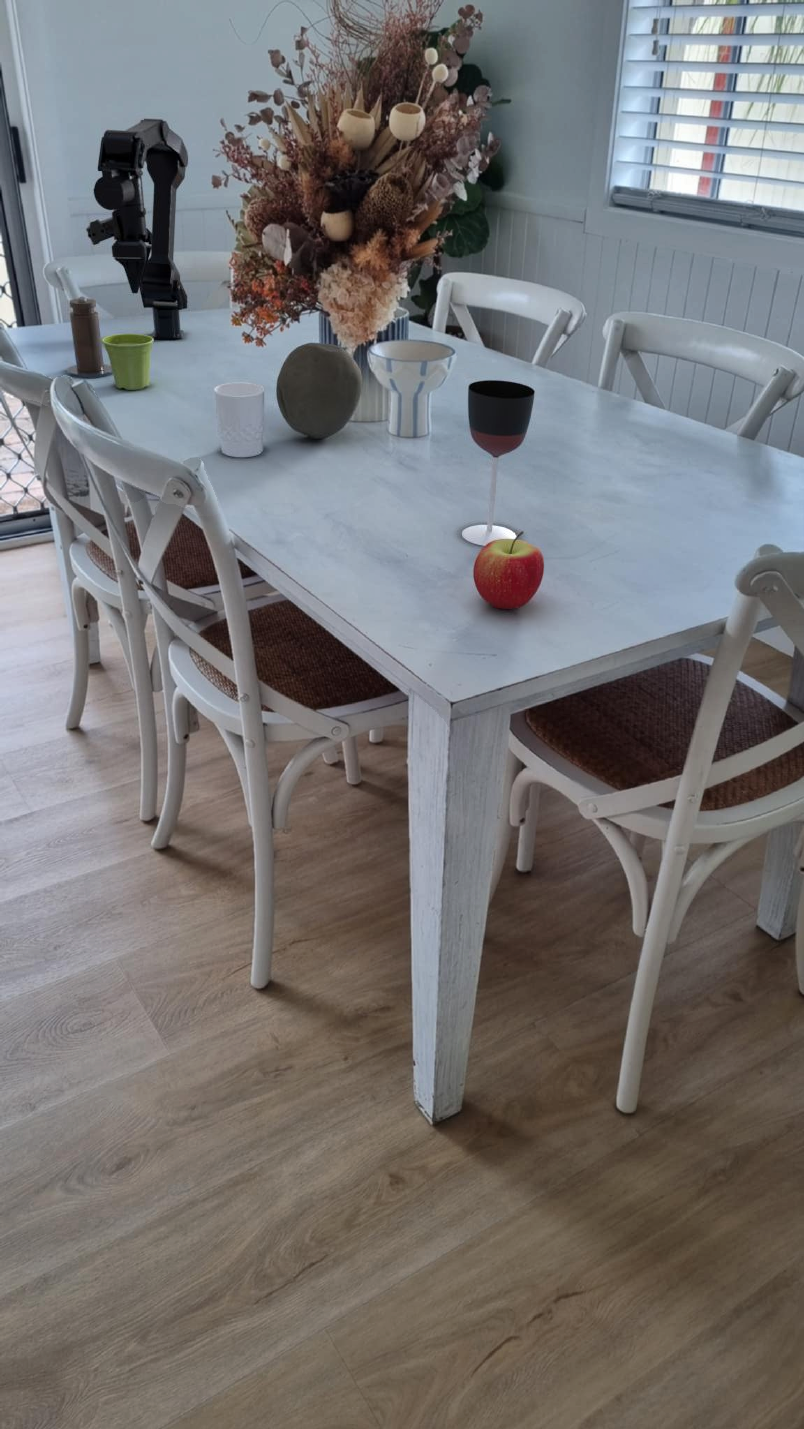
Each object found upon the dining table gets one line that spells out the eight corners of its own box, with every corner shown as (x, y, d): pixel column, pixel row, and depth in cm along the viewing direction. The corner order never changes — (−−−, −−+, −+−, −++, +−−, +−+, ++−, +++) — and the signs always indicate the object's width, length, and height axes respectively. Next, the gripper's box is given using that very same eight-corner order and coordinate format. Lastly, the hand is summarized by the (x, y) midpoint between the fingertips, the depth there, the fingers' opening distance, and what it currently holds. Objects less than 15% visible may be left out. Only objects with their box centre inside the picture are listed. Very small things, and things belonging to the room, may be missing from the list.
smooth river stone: (352, 451, 174) (353, 358, 166) (268, 444, 175) (265, 351, 167) (368, 426, 186) (369, 337, 177) (289, 419, 187) (287, 331, 179)
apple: (501, 626, 123) (509, 546, 118) (456, 598, 129) (461, 521, 124) (554, 609, 128) (563, 531, 122) (508, 583, 133) (515, 507, 128)
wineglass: (480, 519, 151) (491, 376, 140) (531, 535, 146) (547, 390, 136) (446, 534, 146) (455, 388, 135) (498, 552, 141) (511, 402, 130)
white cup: (257, 461, 168) (255, 398, 163) (210, 456, 170) (206, 393, 164) (272, 445, 175) (270, 384, 170) (227, 441, 176) (223, 380, 171)
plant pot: (102, 381, 203) (96, 335, 199) (151, 377, 207) (146, 331, 202) (112, 395, 196) (107, 346, 192) (163, 390, 200) (159, 343, 195)
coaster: (70, 366, 212) (70, 363, 212) (115, 366, 213) (115, 363, 213) (64, 378, 205) (63, 375, 204) (110, 378, 206) (110, 375, 205)
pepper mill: (93, 364, 212) (84, 292, 204) (109, 369, 209) (101, 297, 202) (71, 368, 208) (61, 296, 201) (87, 373, 205) (78, 300, 198)
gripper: (92, 196, 213) (101, 279, 221) (79, 209, 197) (90, 297, 206) (149, 198, 214) (156, 280, 223) (140, 210, 199) (148, 298, 207)
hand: (137, 288), depth 215 cm, fingers open, 9 cm apart
